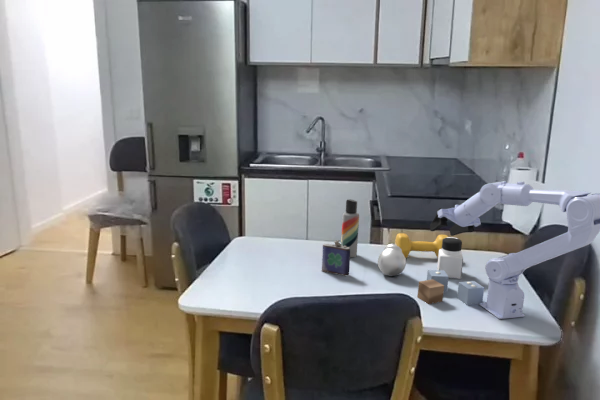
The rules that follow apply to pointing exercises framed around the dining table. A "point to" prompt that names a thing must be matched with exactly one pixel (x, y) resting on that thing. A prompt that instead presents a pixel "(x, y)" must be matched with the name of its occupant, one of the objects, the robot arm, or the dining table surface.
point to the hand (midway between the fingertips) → (440, 230)
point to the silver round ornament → (392, 260)
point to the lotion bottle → (350, 227)
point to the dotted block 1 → (438, 277)
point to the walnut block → (430, 291)
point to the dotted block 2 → (470, 292)
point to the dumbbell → (418, 244)
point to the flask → (336, 258)
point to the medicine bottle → (451, 257)
